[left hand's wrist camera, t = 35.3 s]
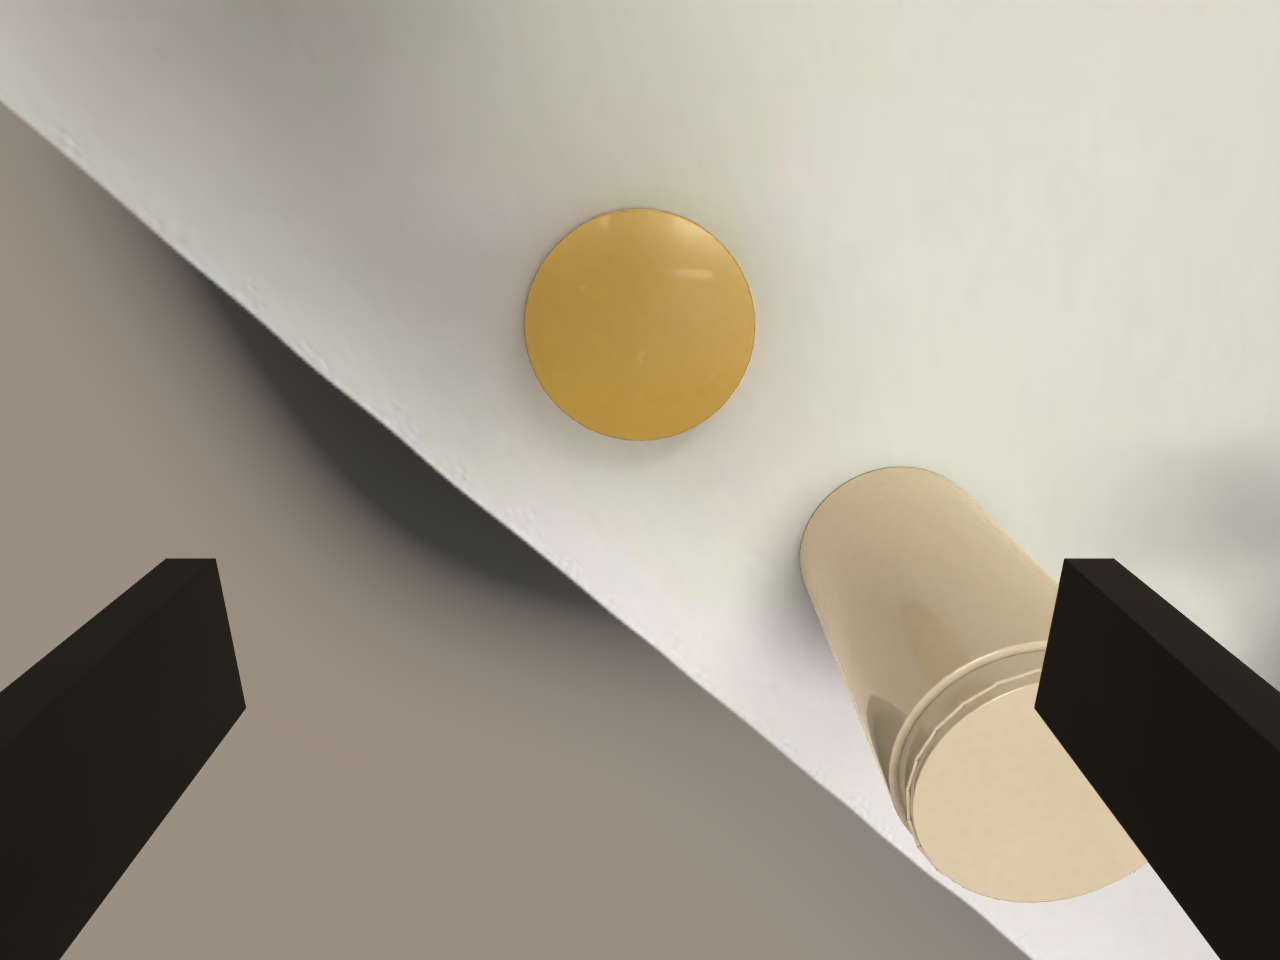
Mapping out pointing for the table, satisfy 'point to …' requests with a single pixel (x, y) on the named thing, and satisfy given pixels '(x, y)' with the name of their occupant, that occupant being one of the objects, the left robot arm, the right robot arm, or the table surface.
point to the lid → (639, 324)
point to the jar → (957, 686)
